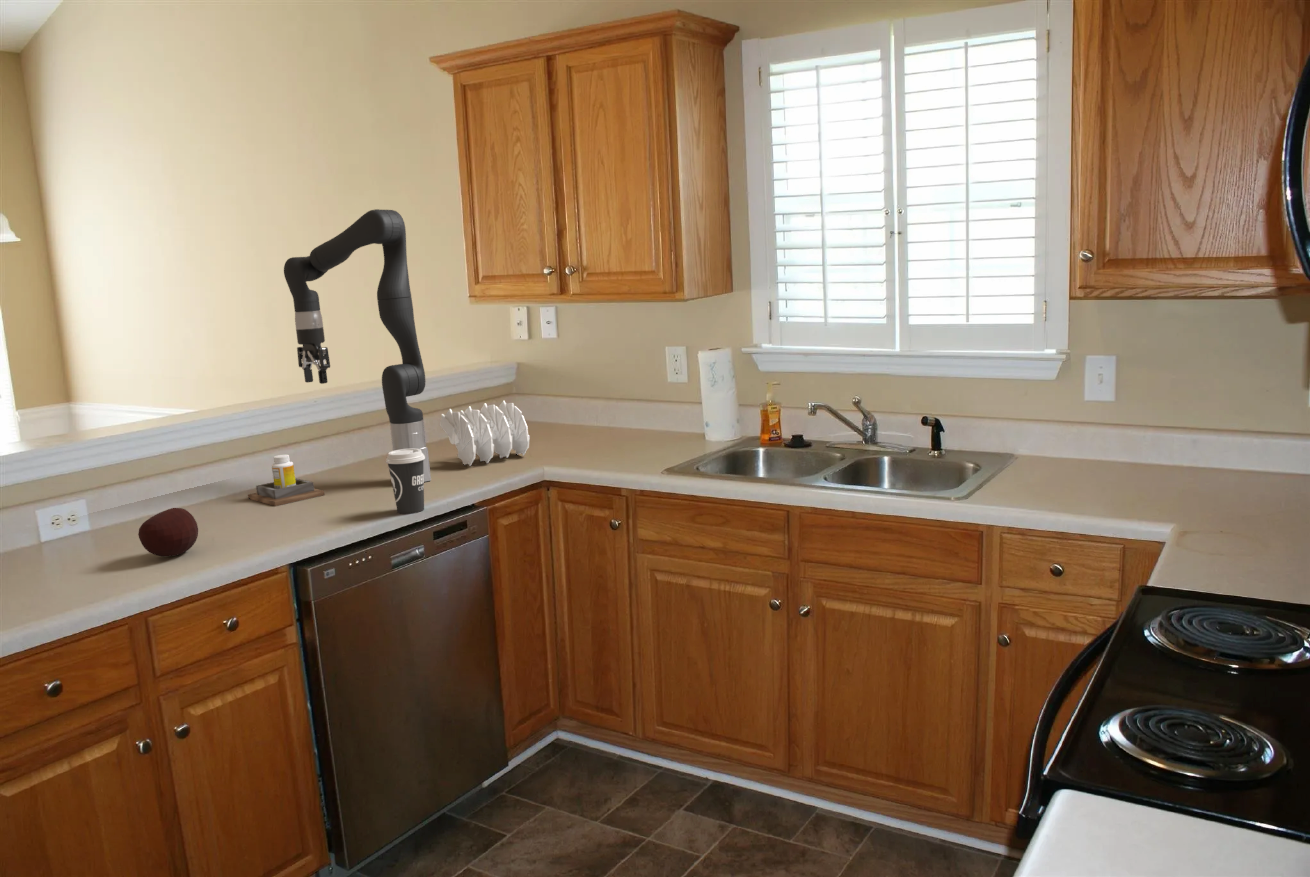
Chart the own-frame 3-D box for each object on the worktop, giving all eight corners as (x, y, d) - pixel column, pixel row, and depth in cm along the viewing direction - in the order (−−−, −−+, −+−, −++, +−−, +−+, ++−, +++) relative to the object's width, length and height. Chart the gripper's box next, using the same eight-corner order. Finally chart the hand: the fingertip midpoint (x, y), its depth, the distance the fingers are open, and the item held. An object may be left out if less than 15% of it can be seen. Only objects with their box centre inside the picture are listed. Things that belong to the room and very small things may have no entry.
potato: (130, 563, 226) (123, 517, 224) (177, 546, 238) (170, 502, 236) (169, 566, 222) (162, 519, 220) (215, 548, 234) (208, 503, 232)
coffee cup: (410, 516, 252) (404, 456, 249) (383, 513, 257) (376, 454, 254) (438, 507, 259) (432, 448, 257) (410, 504, 265) (404, 447, 262)
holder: (324, 494, 282) (322, 482, 282) (275, 506, 272) (273, 492, 272) (296, 488, 293) (294, 475, 293) (248, 498, 284) (246, 485, 283)
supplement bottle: (299, 489, 286) (294, 453, 284) (294, 494, 280) (289, 457, 278) (278, 491, 285) (273, 454, 283) (273, 495, 280) (268, 458, 278)
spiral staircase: (533, 468, 320) (461, 479, 305) (506, 438, 332) (434, 447, 316) (545, 417, 312) (471, 426, 297) (516, 389, 323) (444, 395, 308)
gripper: (333, 325, 296) (340, 382, 299) (309, 325, 306) (316, 380, 309) (309, 328, 291) (316, 385, 294) (285, 328, 301) (292, 383, 304)
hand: (316, 382), depth 302 cm, fingers open, 8 cm apart
